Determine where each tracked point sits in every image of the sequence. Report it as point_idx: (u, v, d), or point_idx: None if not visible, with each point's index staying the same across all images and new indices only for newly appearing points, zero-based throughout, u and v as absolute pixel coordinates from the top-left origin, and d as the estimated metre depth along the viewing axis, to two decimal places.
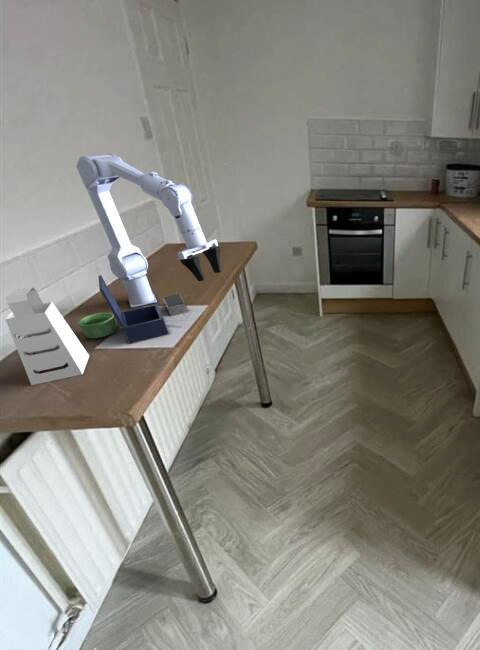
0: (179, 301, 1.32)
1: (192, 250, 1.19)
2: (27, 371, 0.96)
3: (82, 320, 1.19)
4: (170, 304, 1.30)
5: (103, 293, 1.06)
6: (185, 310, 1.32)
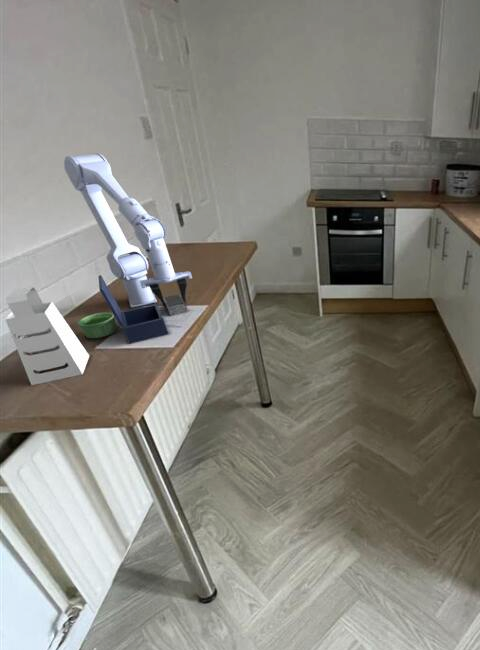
0: (179, 301, 1.32)
1: (152, 282, 1.26)
2: (27, 371, 0.96)
3: (82, 320, 1.19)
4: (170, 304, 1.30)
5: (103, 293, 1.06)
6: (185, 310, 1.32)
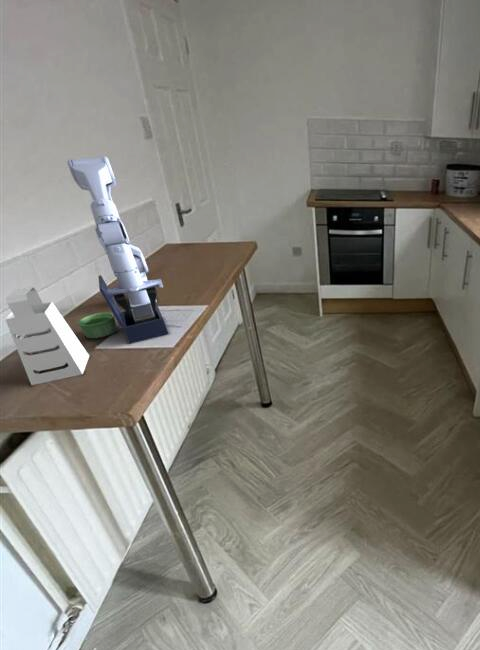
0: (148, 313, 1.17)
1: (116, 292, 1.12)
2: (27, 371, 0.96)
3: (82, 320, 1.19)
4: (138, 316, 1.15)
5: (103, 293, 1.06)
6: None
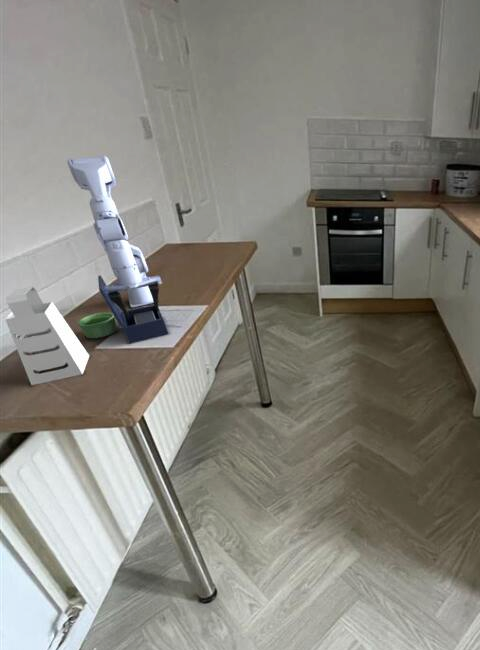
0: (151, 319, 1.18)
1: (115, 288, 1.11)
2: (27, 371, 0.96)
3: (82, 320, 1.19)
4: (140, 322, 1.16)
5: (103, 293, 1.06)
6: None
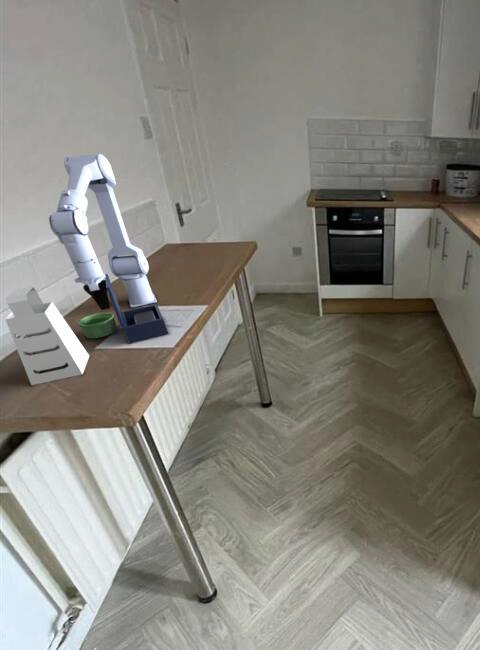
0: (151, 319, 1.18)
1: None
2: (27, 371, 0.96)
3: (82, 320, 1.19)
4: (140, 322, 1.16)
5: (109, 292, 1.07)
6: None
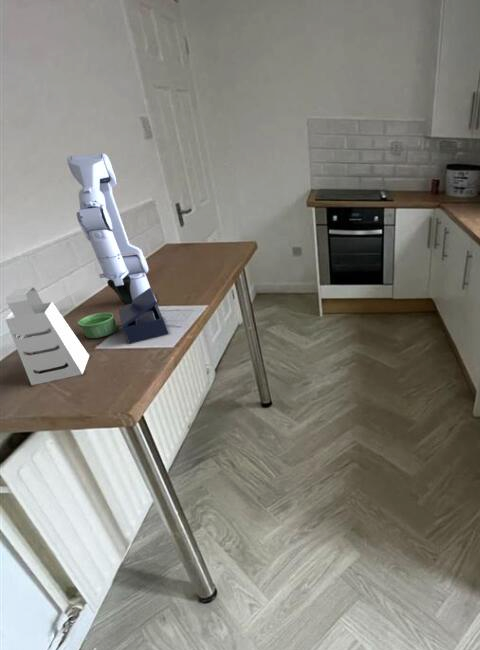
0: (151, 319, 1.18)
1: None
2: (27, 371, 0.96)
3: (82, 320, 1.19)
4: (140, 322, 1.16)
5: (152, 305, 1.13)
6: None
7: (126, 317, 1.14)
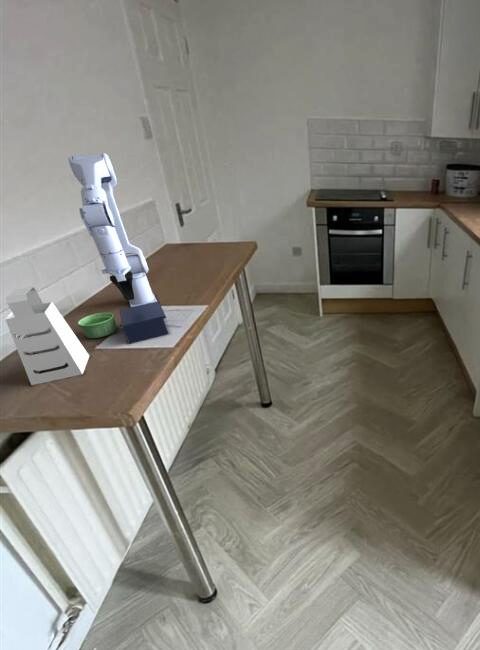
0: None
1: None
2: (27, 371, 0.96)
3: (82, 320, 1.19)
4: None
5: (161, 318, 1.16)
6: None
7: (128, 319, 1.15)
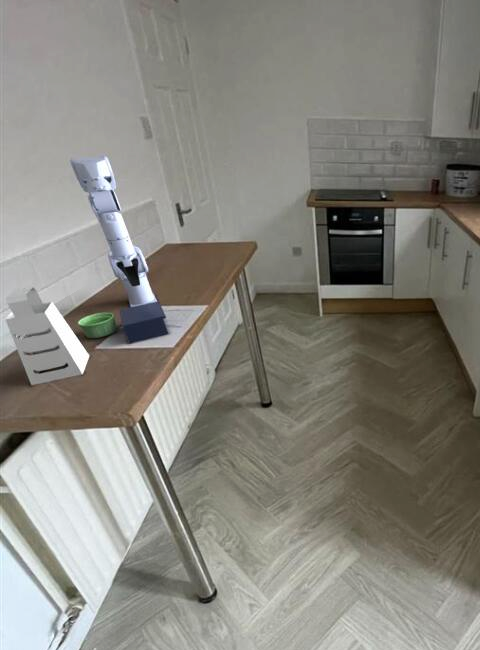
0: None
1: None
2: (27, 371, 0.96)
3: (82, 320, 1.19)
4: None
5: (161, 318, 1.16)
6: None
7: (128, 319, 1.15)
